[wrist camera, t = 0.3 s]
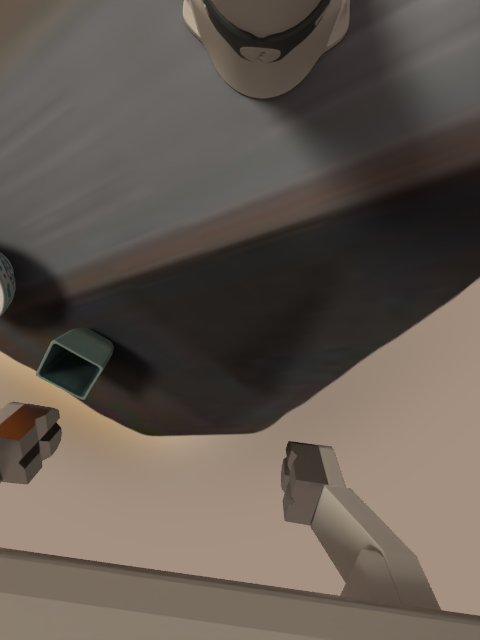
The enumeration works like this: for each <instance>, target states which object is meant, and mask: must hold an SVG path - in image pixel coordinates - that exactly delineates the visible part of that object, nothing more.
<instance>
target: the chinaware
mask: <svg viewBox="0 0 480 640" xmlns="http://www.w3.org/2000/svg"><path fill="white" fill-rule="evenodd" d="M15 289H16V282H15V276H14V271H13V267H12V265H11V263H10V261H9V260H8V259H7V258H6V257H5V256H4V255H3V254H2V253H1V252H0V316H1V315H2V314H3V313H4V312H5V311H6V310H7V309H8V307H9V306H10V304H11V302H12V300H13V298H14V294H15Z"/></svg>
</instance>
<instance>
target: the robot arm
mask: <svg viewBox="0 0 480 640" xmlns="http://www.w3.org/2000/svg"><path fill="white" fill-rule="evenodd" d="M349 16H350V0H184V4H183V17H184V21H185V24H186V26H187V27H188V29H189V30H190V31H191V32H192V33H193V34H194V35H195V36H196V37H197V38H198V39H199V40H200V41H201V42H202V43H203V44H204V46H205V48H206V49H207V51H208V54H209V56H210V58H211V60H212V62H213V64H214V66H215V68H216V70H217V71H218V73H219V74H220V75H221V77H222V78H223V79H224V80H225V81H226V82H227V83H228V84H229V85H230V86H231V87H232V88H233V89H235V90H236V91H238V92H240V93H242V94H244V95H246V96H249V97H253V98H272V97H276V96H279V95H282V94H284V93H286V92H288V91H289V90H291V89H292V88H294V87H295V86H296V85H298V84H299V83H300V82H301V81H302V80H303V79H304V78H305V77H306V76H307V74H308V73H309V72H310V70H311V69H312V68H313V66H314V65H315V63H316V62H317V60H318V59H319V58H320V56H321V55H322V54H323V53H324V52H326V51H327V50H329V49H330V48H332V47H333V46H335V45H336V44H337V43H338V42H340V41H341V40H342V39H343V37H344V36H345V34H346V32H347V29H348V26H349ZM59 418H60V416H59V410H57V409H55V408H51V407H45V406H39V405H33V404H24V403H19V402H11V403H8V404H7V405H6V406H4V407H3V408H2V409H0V481H1V482H10V483H19V484H28V483H29V482H30V481H31V480H32V479H33V477H34V476H35V475H36V474H37V473H38V471H39V470H40V469H41V468H42V461H43V460H45V459H47V458H49V457H50V456H51V455H52V454H53V453H54V452H55V451H56V449H57V447H58V445H59V443H60V441H61V434H62V432H61V427H60V426H59V425H58V424H57V421H58V419H59ZM286 454H287V457H286V458H285V459H284V460H283V464H282V471H281V486H282V490H283V491H284V492H285V494H284V499H283V508H284V518H285V521H288V522H293V523H299V524H306V525H311V528H312V530H313V531H314V533H315V535H316V536H317V538H318V539H319V541H320V542H321V544H322V546H323V547H324V549H325V551H326V552H327V554H328V555H329V557H330V559H331V560H332V562H333V563H334V565H335V567H336V568H337V570H338V571H339V573H340V574H341V576H342V578H343V579H344V581H345V583H346V585H345V587H344V589H343V591H342V593H341V596H337V595H330V594H322V593H315V592H309V591H302V590H294V589H288V588H281V587H274V586H266V585H259V584H253V583H245V582H238V581H231V580H224V579H217V578H210V577H203V576H196V575H189V574H182V573H175V572H168V571H161V570H153V569H146V568H139V567H132V566H125V565H118V564H111V563H104V562H97V561H90V560H83V559H76V558H69V557H62V556H55V555H48V554H41V553H34V552H27V551H20V550H13V549H6V548H0V640H480V616H477V615H470V614H463V613H456V612H449V611H442V610H441V609H440V606H439V604H438V602H437V600H436V598H435V596H434V594H433V591H432V589H431V587H430V585H429V582H428V580H427V578H426V576H425V574H424V572H423V569H422V567H421V565H420V563H419V561H418V558H417V556H416V555H415V554H414V553H413V552H412V551H411V550H410V549H409V548H408V547H407V546H406V545H405V544H404V543H403V542H402V541H401V540H400V539H399V538H398V537H397V536H396V535H395V534H394V533H393V532H392V530H390V528H389V527H388V526H387V525H386V524H385V523H384V522H383V521H382V520H381V519H380V518H379V517H378V516H377V515H376V514H375V513H374V512H373V511H372V510H371V509H370V508H369V507H368V506H367V505H366V504H365V503H364V502H363V501H362V500H361V499H360V498H359V497H358V496H357V495H356V494H355V493H354V491H353V490H352V489H350V488H346V486H345V483H344V480H343V477H342V474H341V470H340V467H339V464H338V461H337V458H336V455H335V452H334V449H333V448H332V447H331V446H323V445H313V444H306V443H298V442H291V441H289V442H288V444H287V447H286ZM1 482H0V483H1Z"/></svg>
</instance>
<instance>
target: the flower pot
mask: <svg viewBox="0 0 480 640" xmlns="http://www.w3.org/2000/svg"><path fill="white" fill-rule="evenodd" d="M113 350H114V347H113V344H112V342H111V341H110V340H108V339H106V338H104V337H103V336H101V335H99V334H97V333H96V332H94V331H92V330H91V329H87V328H76V329H73V330H70V331H68V332H67V333H65V334H63V335H61V336H60V337H58V338H56V339H55V340H53V341H52V342H51V343H50V346H49V348H48V350H47V352H46V354H45V356H44V358H43V360H42V362H41V364H40V366H39V368H38V370H37V372H36V375H37V376H38V377H40V378H41V379H43V380H45V381H47V382H49V383H51V384H53V385H55V386H57V387H59V388H61V389H63V390H65V391H67V392H68V393H70V394H72V395H74V396H76V397H78V398H80V399H83V400H84V399H85V398H86V397H87V395H88V393H89V392H90V390H91V388H92V387H93V385H94V384H95V382H96V380H97V378H98V377H99V375H100V374H101V372H102V371H103V369H104V368H105V366H106V364H107V363H108V361H109V359H110V358H111V356H112V354H113Z"/></svg>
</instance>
